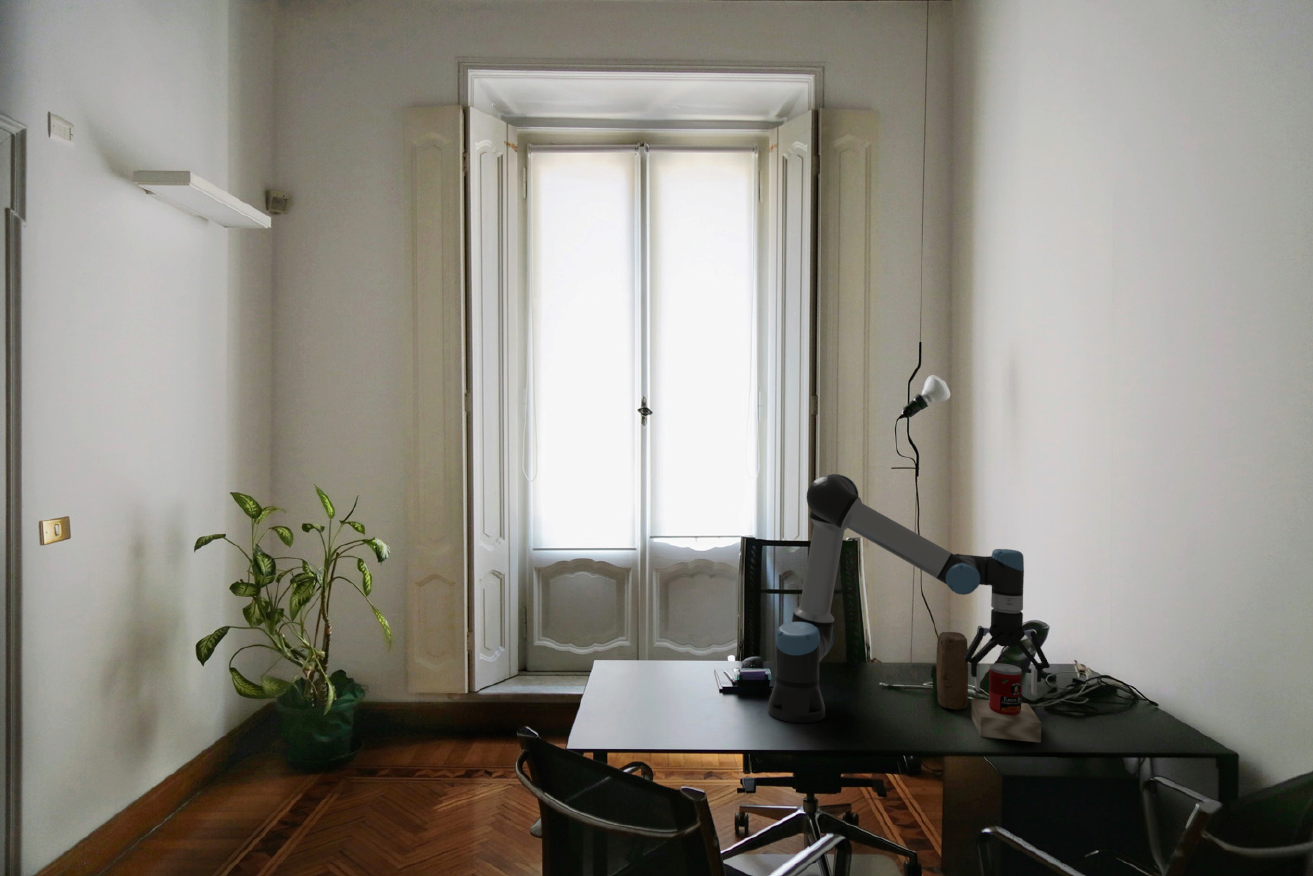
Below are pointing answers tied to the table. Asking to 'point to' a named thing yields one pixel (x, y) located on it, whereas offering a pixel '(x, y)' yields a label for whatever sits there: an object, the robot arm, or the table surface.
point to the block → (952, 670)
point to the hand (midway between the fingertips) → (1005, 692)
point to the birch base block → (1006, 723)
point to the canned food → (1005, 688)
